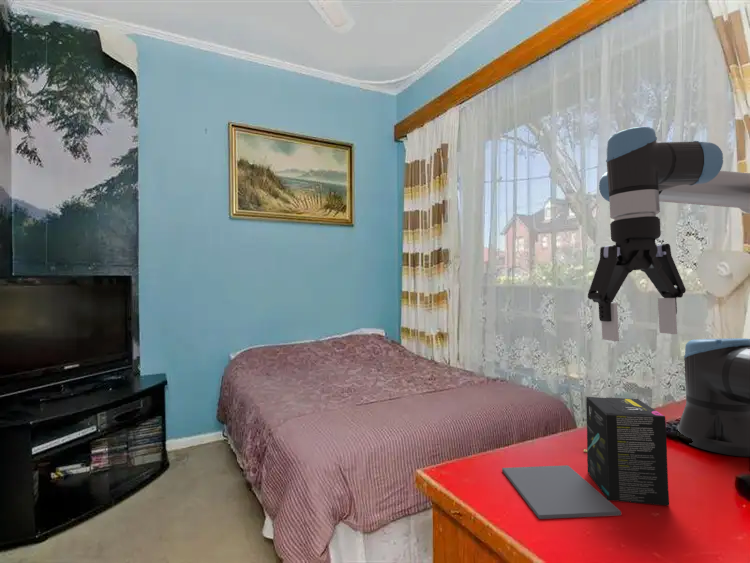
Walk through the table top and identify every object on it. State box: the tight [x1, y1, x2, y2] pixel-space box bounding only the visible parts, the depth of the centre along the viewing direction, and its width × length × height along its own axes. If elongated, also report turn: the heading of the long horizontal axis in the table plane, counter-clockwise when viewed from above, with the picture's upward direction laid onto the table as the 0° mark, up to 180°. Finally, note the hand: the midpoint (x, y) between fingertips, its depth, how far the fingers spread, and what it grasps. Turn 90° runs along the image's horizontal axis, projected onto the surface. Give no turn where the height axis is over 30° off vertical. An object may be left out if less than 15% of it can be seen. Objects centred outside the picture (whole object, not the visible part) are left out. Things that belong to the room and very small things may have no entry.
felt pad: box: [501, 464, 622, 520], centre depth 71 cm, size 13×16×1 cm
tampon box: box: [585, 396, 670, 506], centre depth 71 cm, size 11×9×15 cm
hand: (640, 336), depth 73 cm, fingers open, 13 cm apart
